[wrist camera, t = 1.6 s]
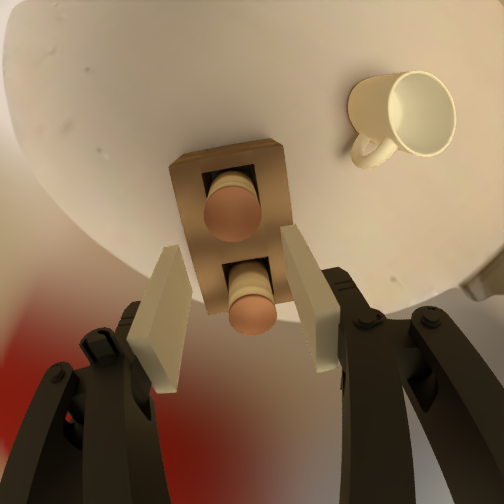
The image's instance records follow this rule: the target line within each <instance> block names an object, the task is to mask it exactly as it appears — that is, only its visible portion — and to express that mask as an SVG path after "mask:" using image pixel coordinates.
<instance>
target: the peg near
mask: <svg viewBox="0 0 504 504" xmlns="http://www.w3.org/2000/svg"><path fill="white" fill-rule="evenodd" d="M261 216H262V213H261V207H260V204H259V201H258V198H257V194H256V191H255V188H254V185H253V182H252V180H251V178H250V177H249V175H248V174H247V173H245V172H244V171H242V170H240V169H236V168H229V169H225V170H222V171H221V172H219V173H218V174H217V175H216V176H215V177H214V179H213V181H212V183H211V187H210V190H209V194H208V198H207V201H206V205H205V209H204V221H205V225H206V227H207V229H208V230H209V231H210V233H211V234H212V235H214V236H215V237H216V238H218V239H220V240H223V241H226V242H239V241H242V240H245V239H247V238H249V237H250V236H251V235H253V234H254V233H255V231H256V230H257V229H258V227H259V225H260V222H261Z"/></svg>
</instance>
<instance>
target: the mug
mask: <svg viewBox="0 0 504 504" xmlns="http://www.w3.org/2000/svg"><path fill="white" fill-rule="evenodd" d="M348 114H349V118H350V121H351V123H352V125H353V127H354V128H355V130H356V131H357V132H358V133H359V135H358V137H357V138H356V140H355V142H354V144H353V147H352V150H351V158H352V161H353V163H354V164H355V165H356V166H357V167H359V168H362V169H370V168H373V167H376V166H378V165H380V164H381V163H383V162H384V161H386V160H387V159H388V158H389V157H390V156H391V155H392V154H393V153H394V152H395V151H396V150H401V151H404V152H407V153H411V154H414V155H417V156H421V157H430V156H434V155H437V154H439V153H440V152H442V151H443V150H444V149H445V148H446V147H447V146H448V145H449V143H450V141H451V140H452V137H453V135H454V132H455V127H456V111H455V106H454V102H453V99H452V97H451V95H450V93H449V91H448V90H447V88H446V87H445V85H444V84H443V83H442V82H441V81H440V80H439V79H438V78H436V77H435V76H433V75H432V74H430V73H427V72H425V71H418V70H415V71H407V72H400V73H394V74H388V75H382V76H376V77H371V78H368V79H365V80H363V81H361V82H360V83H358V84H357V85H356V86H355V87H354V89H353V90H352V92H351V94H350V96H349V100H348ZM370 141H371V142H374V143H377V144H380V145H379V146H378V147H377V148H376V149H375V150H374V151H373V152H371V153H370V154H368V155H366V156H363V152H364V150H365V148H366V146H367V145H368V143H369V142H370Z"/></svg>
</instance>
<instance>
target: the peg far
mask: <svg viewBox="0 0 504 504" xmlns="http://www.w3.org/2000/svg"><path fill="white" fill-rule="evenodd" d="M276 319H277V312H276V308H275V303H274V299H273V294H272V290H271V285H270V281H269V277H268V272H267V268H266V265H265V263H264V262H263V261H262V260H261V259H259V258H255V259H249V260H243V261H237V262H233V263H232V264H231V266H230V268H229V322H230V324H231V326H232V327H233V328H234V329H235V330H236V331H237V332H239V333H242V334H245V335H259V334H262V333H264V332H266V331H268V330H269V329H271V328H272V326H273V325H274V324H275V322H276Z"/></svg>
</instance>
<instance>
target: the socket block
mask: <svg viewBox="0 0 504 504" xmlns="http://www.w3.org/2000/svg"><path fill="white" fill-rule="evenodd" d="M249 164H251V169H252V175H253V181H254V187H255V191H256V194H257V198H258V201H259V204H260V207H261V213H262V216H261V222H260V225H259V227H258V229H257V230H256V231H255V233H254V234H253V235H251V236H250V237H249V238H247V239H245V240H242V241H239V242H226V241H223V240H220V239H218V238H216V237H215V236H214V235H212V234H211V233H210V231H209V230H208V229H207V227H206V225H205V221H204V209H205V205H206V201H207V198H208V194H209V190H210V187H211V183H212V177H211V172H210V171H216V170H221V169H226V168H232V167H237V166H243V165H249ZM169 171H170V176H171V180H172V184H173V188H174V192H175V197H176V201H177V205H178V209H179V213H180V217H181V221H182V224H183V228H184V232H185V236H186V240H187V243H188V247H189V251H190V254H191V258H192V262H193V265H194V269H195V272H196V276H197V279H198V283H199V286H200V289H201V293H202V296H203V299H204V303H205V306H206V309H207V312H208V315H212V314H218V313H225V312H229V268H230V263H232V262H237V261H243V260H249V259H255V258H261V257H266V260H262V261H263V262H264V263H265V265H266V268H267V272H268V277H269V281H270V285H271V290H272V294H273V299H274V303H275V304H279V303H284V302H290V301H294V298H293V295H292V292H291V289H290V286H289V283H288V280H287V277H286V270H285V261H284V253H283V245H282V237H281V230H280V227H282V226H288V225H293V219H292V211H291V202H290V194H289V186H288V178H287V171H286V163H285V156H284V149H283V145H281V144H280V143H278V142H276V141H274V140H273V139H264V140H258V141H251V142H245V143H239V144H234V145H228V146H223V147H217V148H212V149H207V150H202V151H197V152H193V153H188V154H184V155H182V156H180V157H179V158H178V159H177V160H176V161H175V162H173V163H172V164H171V165H170V166H169Z"/></svg>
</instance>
